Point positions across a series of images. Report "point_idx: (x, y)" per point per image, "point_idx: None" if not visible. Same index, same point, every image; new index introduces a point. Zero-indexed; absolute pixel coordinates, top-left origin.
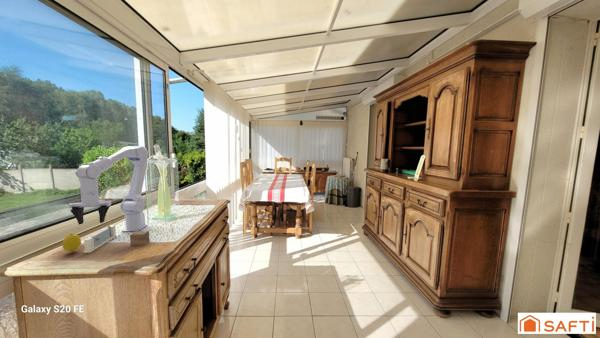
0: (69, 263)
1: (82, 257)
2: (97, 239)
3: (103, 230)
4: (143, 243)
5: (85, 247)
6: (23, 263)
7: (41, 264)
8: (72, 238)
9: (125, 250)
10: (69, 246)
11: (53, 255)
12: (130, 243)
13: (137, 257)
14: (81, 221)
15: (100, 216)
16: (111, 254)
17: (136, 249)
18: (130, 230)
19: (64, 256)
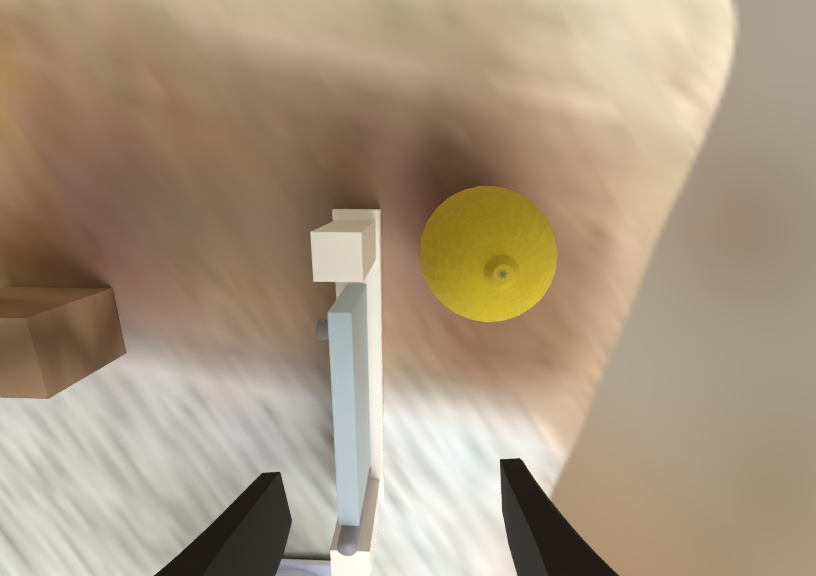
0: (357, 11)
1: (333, 119)
2: (322, 320)
3: (346, 465)
4: (13, 289)
5: (365, 222)
6: (721, 89)
7: (568, 37)
8: (457, 220)
9: (85, 196)
10: (466, 189)
11: (585, 208)
12: (98, 293)
13: None
14: (507, 506)
15: (207, 545)
16: (141, 135)
17: (11, 199)
18: (292, 564)
19: (487, 170)
